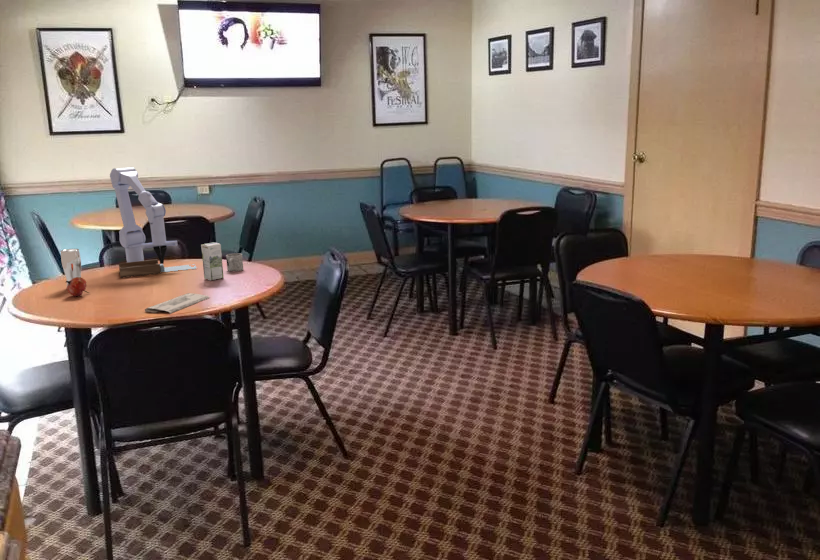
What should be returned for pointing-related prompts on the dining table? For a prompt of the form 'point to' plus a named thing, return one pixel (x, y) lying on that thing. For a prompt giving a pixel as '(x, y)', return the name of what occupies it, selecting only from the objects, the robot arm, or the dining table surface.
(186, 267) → the cover plate
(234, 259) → the mug
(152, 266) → the case
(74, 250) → the white tapered container
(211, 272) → the syrup box
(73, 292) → the pomegranate
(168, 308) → the newspaper
